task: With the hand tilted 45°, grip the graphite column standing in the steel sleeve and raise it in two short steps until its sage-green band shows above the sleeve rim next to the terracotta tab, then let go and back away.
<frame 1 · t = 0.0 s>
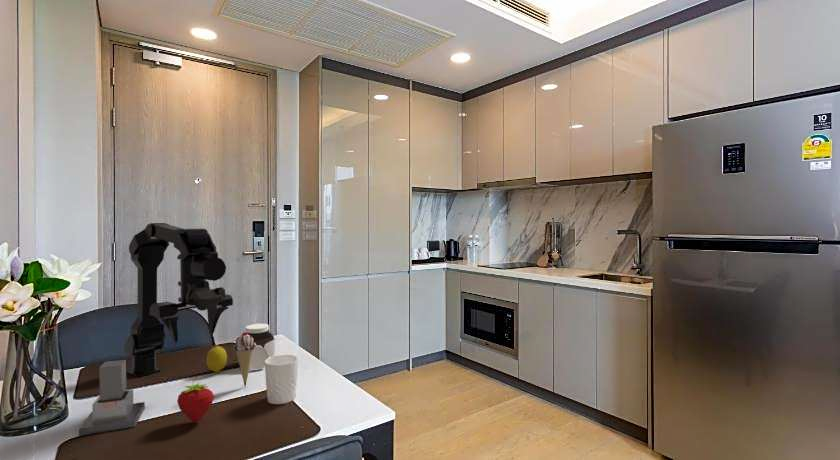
hand: (194, 338, 111), 15 cm above the table, tool pointing down, fingers open, 9 cm apart
jack column: (113, 388, 96), point 7 cm above the table, slide at 0.0 cm
white cup: (281, 399, 108), on the table
lemon: (217, 373, 127), on the table
strawberry: (196, 423, 96), on the table
spread jar: (258, 365, 134), on the table
ice cream cone: (245, 388, 116), on the table
jack stand base: (114, 421, 96), on the table
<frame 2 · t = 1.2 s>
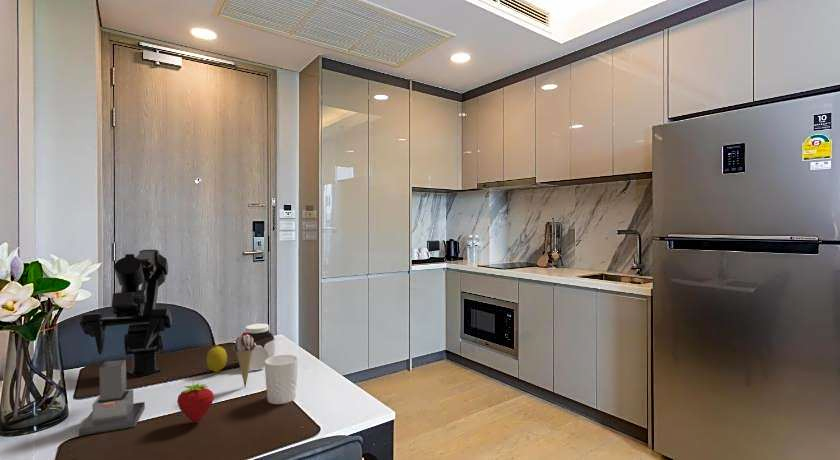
hand: (122, 351, 104), 13 cm above the table, tool tilted 45°, fingers open, 9 cm apart
nothing on the table moved.
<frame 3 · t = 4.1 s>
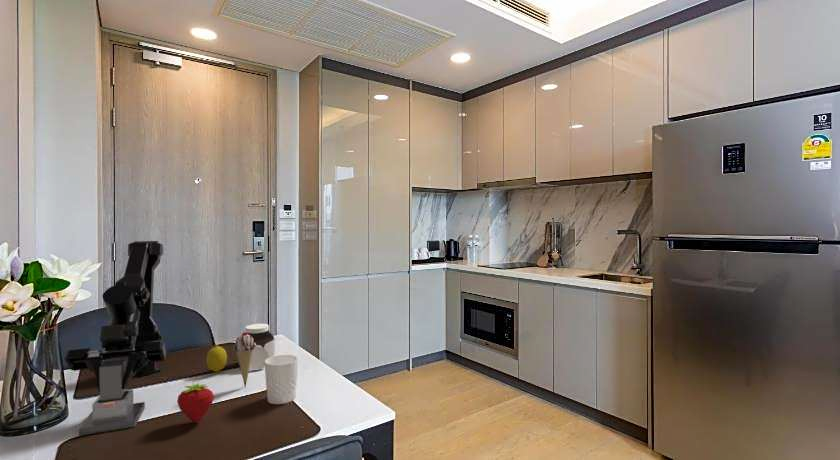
hand: (111, 389, 95), 8 cm above the table, tool tilted 45°, fingers closed on jack column, 4 cm apart
jack column: (113, 388, 96), point 7 cm above the table, slide at 0.0 cm, touching gripper
everything else where it was.
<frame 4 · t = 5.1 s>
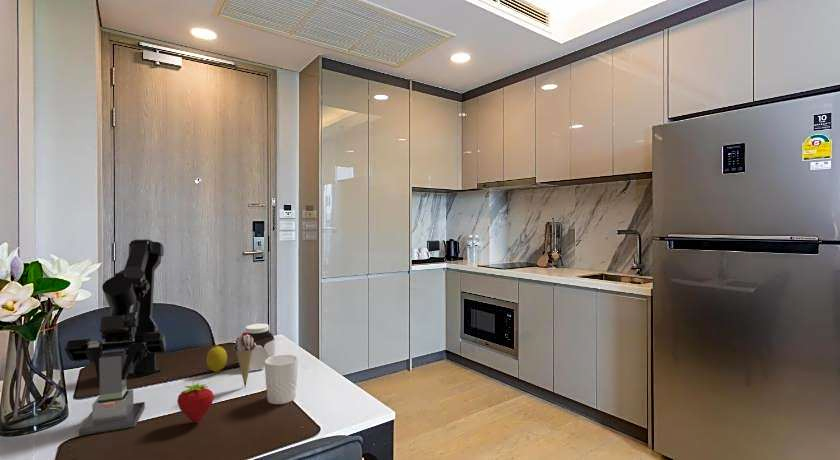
hand: (111, 380, 95), 10 cm above the table, tool tilted 45°, fingers closed on jack column, 4 cm apart
jack column: (113, 379, 96), point 9 cm above the table, slide at 2.1 cm, touching gripper
everything else where it was.
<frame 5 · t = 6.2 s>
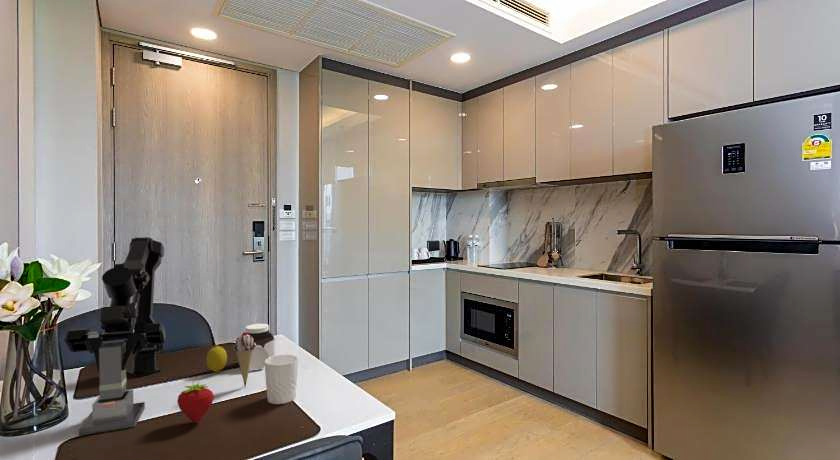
hand: (111, 370, 95), 12 cm above the table, tool tilted 45°, fingers closed on jack column, 4 cm apart
jack column: (113, 370, 96), point 12 cm above the table, slide at 4.2 cm, touching gripper
everything else where it was.
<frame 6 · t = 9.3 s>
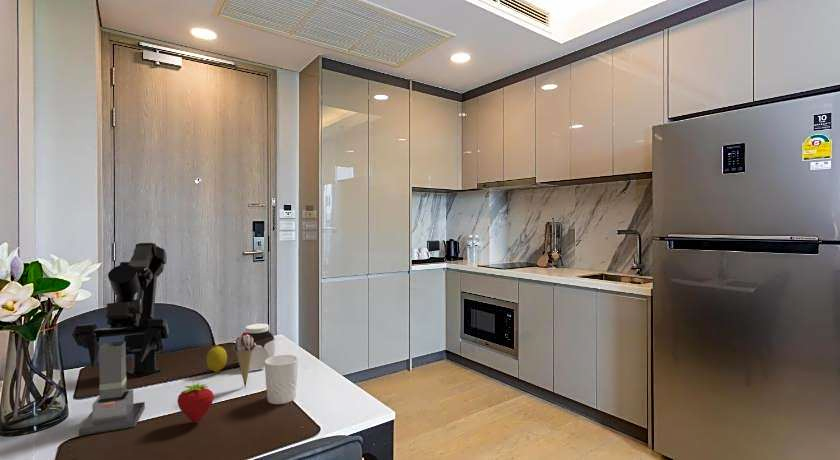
hand: (117, 364, 99), 12 cm above the table, tool tilted 45°, fingers open, 9 cm apart
jack column: (113, 369, 96), point 12 cm above the table, slide at 4.3 cm
everything else where it was.
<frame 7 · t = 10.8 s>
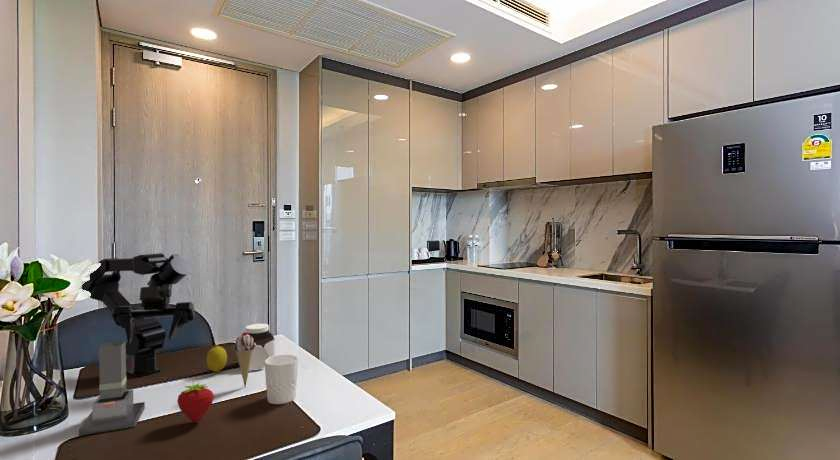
hand: (149, 341, 111), 14 cm above the table, tool tilted 45°, fingers open, 9 cm apart
nothing on the table moved.
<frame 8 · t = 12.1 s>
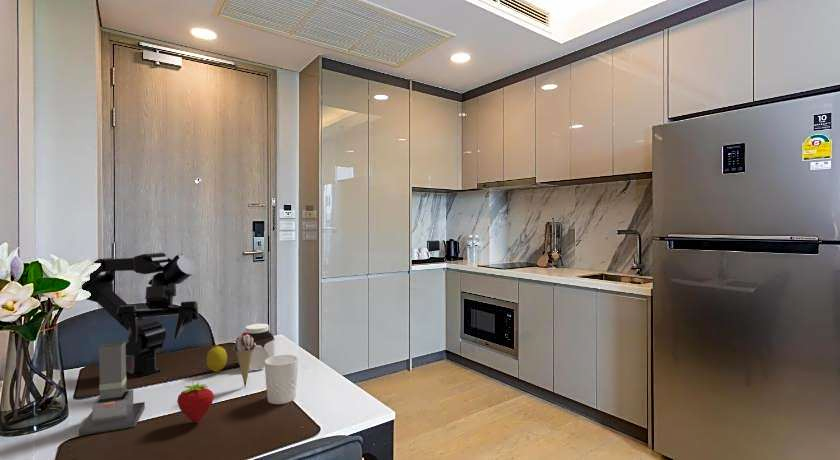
hand: (155, 340, 113), 14 cm above the table, tool tilted 45°, fingers open, 9 cm apart
nothing on the table moved.
at the end: jack column slide at 4.3 cm; the gripper is holding nothing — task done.
